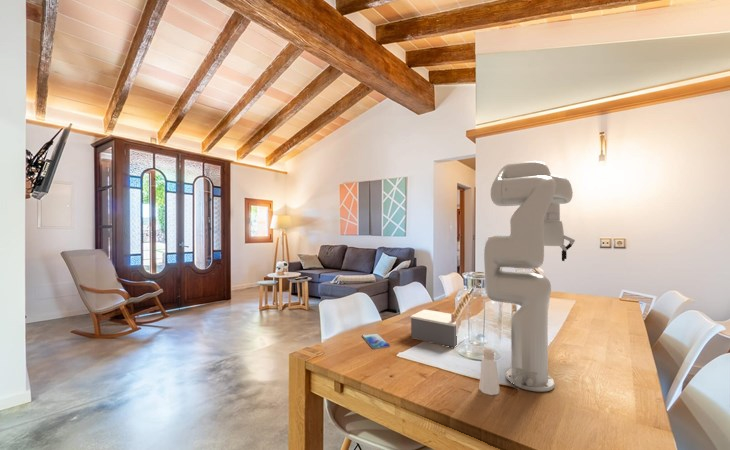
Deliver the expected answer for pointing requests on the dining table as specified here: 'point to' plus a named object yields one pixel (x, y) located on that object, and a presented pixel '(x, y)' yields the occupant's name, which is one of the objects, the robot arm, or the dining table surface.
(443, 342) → the box
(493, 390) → the pepper shaker
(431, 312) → the lid
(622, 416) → the dining table surface
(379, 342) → the smartphone
